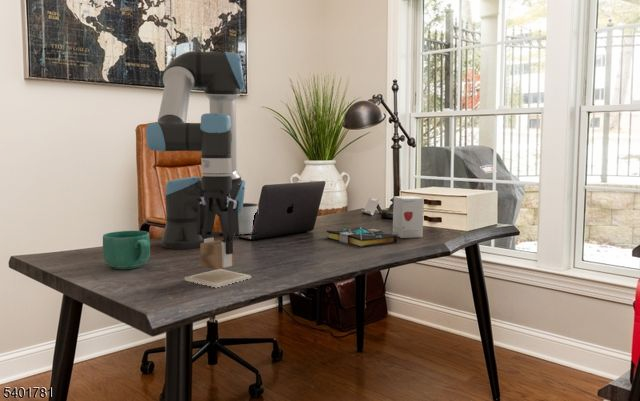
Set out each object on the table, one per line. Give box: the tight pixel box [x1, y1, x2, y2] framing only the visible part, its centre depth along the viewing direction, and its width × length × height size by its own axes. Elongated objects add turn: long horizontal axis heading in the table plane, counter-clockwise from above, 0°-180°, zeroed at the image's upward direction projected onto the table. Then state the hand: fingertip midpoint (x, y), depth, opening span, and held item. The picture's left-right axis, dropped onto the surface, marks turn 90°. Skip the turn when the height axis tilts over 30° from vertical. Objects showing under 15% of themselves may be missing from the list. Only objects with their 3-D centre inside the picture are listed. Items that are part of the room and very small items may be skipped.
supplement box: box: [392, 195, 425, 239], centre depth 204 cm, size 9×9×15 cm
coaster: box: [184, 268, 252, 289], centre depth 139 cm, size 12×12×1 cm
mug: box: [102, 230, 151, 270], centre depth 151 cm, size 17×13×10 cm
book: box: [325, 226, 399, 248], centre depth 195 cm, size 22×17×5 cm
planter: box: [238, 202, 259, 234], centre depth 209 cm, size 12×12×11 cm
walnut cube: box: [199, 239, 235, 270], centre depth 138 cm, size 6×6×6 cm
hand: (218, 264), depth 138 cm, fingers closed on walnut cube, 6 cm apart
